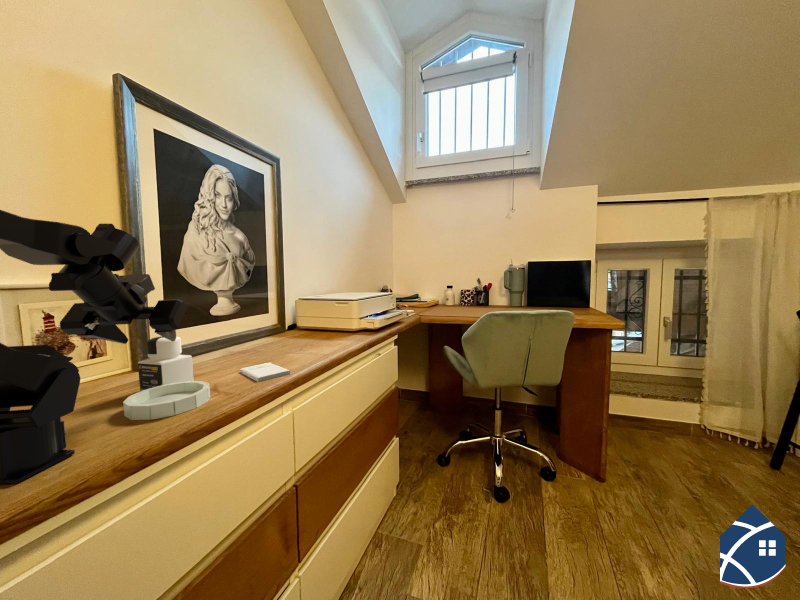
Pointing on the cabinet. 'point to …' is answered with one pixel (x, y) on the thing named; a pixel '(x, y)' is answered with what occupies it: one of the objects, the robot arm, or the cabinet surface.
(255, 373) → the external hard drive
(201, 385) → the pale green round tray
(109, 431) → the cabinet surface
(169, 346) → the medicine bottle
